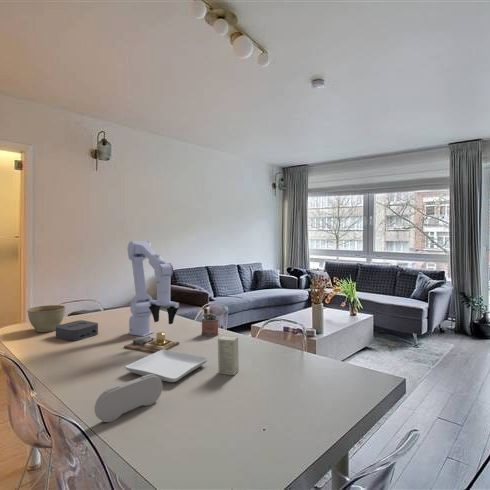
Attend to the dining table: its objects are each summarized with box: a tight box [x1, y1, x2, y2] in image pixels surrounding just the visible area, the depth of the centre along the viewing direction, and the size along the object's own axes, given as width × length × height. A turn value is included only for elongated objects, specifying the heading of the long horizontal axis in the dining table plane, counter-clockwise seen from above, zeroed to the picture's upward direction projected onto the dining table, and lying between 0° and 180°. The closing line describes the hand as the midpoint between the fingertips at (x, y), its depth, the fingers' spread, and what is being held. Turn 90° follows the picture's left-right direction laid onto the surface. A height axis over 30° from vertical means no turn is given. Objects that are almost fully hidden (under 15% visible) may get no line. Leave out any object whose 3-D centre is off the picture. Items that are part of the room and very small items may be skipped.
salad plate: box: [124, 349, 209, 383], centre depth 125 cm, size 21×21×3 cm
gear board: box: [123, 335, 180, 354], centre depth 151 cm, size 18×14×2 cm
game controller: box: [94, 374, 163, 423], centre depth 96 cm, size 20×2×8 cm, turn 140°
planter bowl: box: [27, 304, 66, 333], centre depth 174 cm, size 16×16×11 cm
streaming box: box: [55, 319, 99, 342], centre depth 166 cm, size 14×14×5 cm
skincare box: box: [217, 335, 240, 376], centre depth 123 cm, size 6×4×12 cm
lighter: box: [201, 313, 219, 337], centre depth 168 cm, size 8×3×10 cm, turn 84°
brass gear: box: [154, 331, 168, 346], centre depth 150 cm, size 6×6×5 cm
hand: (163, 322), depth 154 cm, fingers open, 7 cm apart
